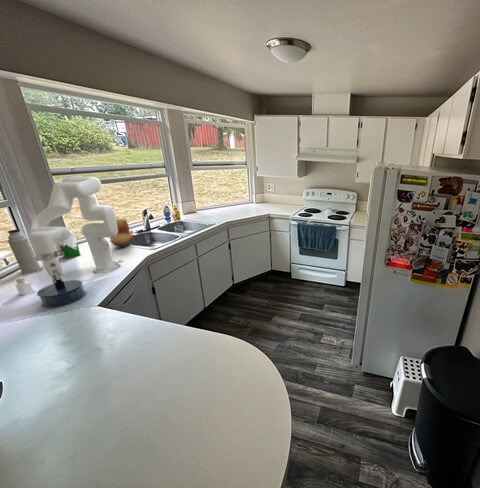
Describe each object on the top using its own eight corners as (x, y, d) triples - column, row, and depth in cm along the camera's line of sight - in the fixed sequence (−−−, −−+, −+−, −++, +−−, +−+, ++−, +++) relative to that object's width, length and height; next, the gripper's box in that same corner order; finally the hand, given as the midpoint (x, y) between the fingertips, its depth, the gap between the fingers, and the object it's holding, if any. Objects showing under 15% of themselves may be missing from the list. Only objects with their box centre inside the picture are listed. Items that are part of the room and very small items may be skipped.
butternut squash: (117, 250, 196) (108, 220, 187) (110, 247, 202) (101, 217, 194) (137, 245, 207) (130, 216, 198) (130, 242, 213) (123, 214, 205)
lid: (77, 278, 142) (74, 268, 140) (86, 288, 133) (82, 277, 131) (34, 290, 129) (29, 279, 127) (41, 302, 120) (35, 290, 118)
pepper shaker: (28, 291, 139) (21, 276, 136) (34, 291, 139) (27, 276, 136) (19, 295, 135) (11, 279, 132) (25, 295, 135) (18, 280, 132)
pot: (80, 288, 143) (77, 279, 141) (88, 297, 135) (85, 287, 133) (41, 300, 132) (36, 290, 129) (47, 311, 123) (42, 300, 121)
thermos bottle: (37, 267, 166) (20, 227, 156) (43, 270, 163) (26, 229, 153) (20, 272, 159) (1, 231, 149) (25, 275, 156) (6, 233, 146)
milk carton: (62, 256, 184) (52, 230, 177) (78, 252, 191) (69, 227, 184) (66, 259, 179) (56, 232, 172) (82, 255, 186) (73, 229, 179)
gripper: (62, 257, 123) (74, 289, 129) (54, 249, 132) (66, 280, 138) (39, 262, 117) (53, 295, 123) (33, 253, 126) (46, 285, 132)
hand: (60, 287), depth 131 cm, fingers closed on lid, 3 cm apart
